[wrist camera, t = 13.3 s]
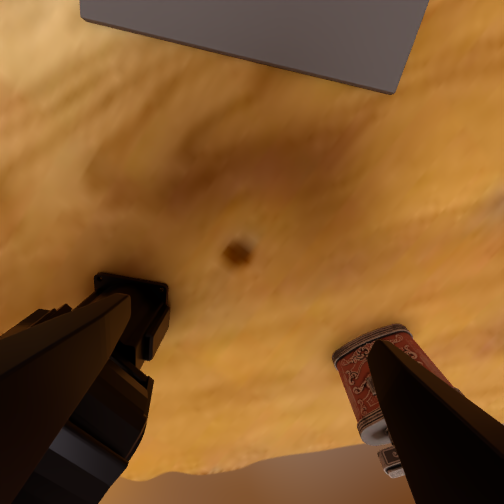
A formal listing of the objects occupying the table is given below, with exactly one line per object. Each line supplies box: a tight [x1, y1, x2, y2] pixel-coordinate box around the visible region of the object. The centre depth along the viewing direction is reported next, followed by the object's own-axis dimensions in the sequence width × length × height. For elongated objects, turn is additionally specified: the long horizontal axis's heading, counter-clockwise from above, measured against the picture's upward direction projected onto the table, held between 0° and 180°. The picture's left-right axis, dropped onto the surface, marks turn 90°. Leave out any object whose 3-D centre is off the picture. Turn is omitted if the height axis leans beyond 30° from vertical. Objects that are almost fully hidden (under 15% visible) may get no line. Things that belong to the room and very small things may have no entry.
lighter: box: [332, 324, 465, 478], centre depth 20 cm, size 8×3×10 cm, turn 125°
